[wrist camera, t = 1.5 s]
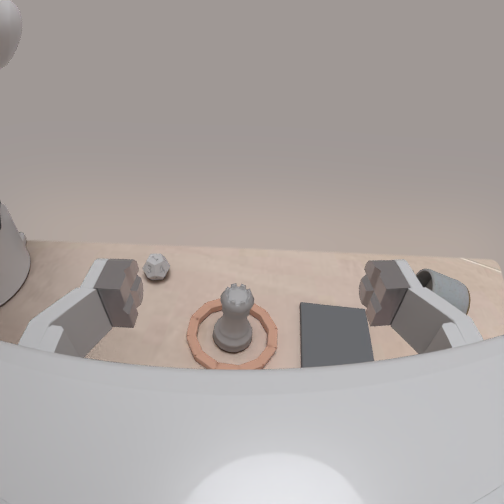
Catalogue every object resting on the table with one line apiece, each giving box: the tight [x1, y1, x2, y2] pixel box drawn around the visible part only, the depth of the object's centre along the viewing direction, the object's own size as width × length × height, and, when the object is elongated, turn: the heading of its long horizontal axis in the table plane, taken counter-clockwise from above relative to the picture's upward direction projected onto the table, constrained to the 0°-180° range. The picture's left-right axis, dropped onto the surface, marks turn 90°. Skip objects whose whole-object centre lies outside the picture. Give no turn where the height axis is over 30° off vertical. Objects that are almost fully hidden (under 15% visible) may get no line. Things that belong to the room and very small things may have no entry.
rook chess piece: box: [213, 283, 254, 352], centre depth 31 cm, size 4×4×8 cm
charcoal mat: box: [300, 302, 374, 368], centre depth 34 cm, size 9×12×1 cm
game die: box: [143, 254, 170, 280], centre depth 38 cm, size 4×4×3 cm
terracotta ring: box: [187, 298, 277, 370], centre depth 33 cm, size 10×10×1 cm
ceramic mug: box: [416, 269, 470, 315], centre depth 37 cm, size 11×8×8 cm
